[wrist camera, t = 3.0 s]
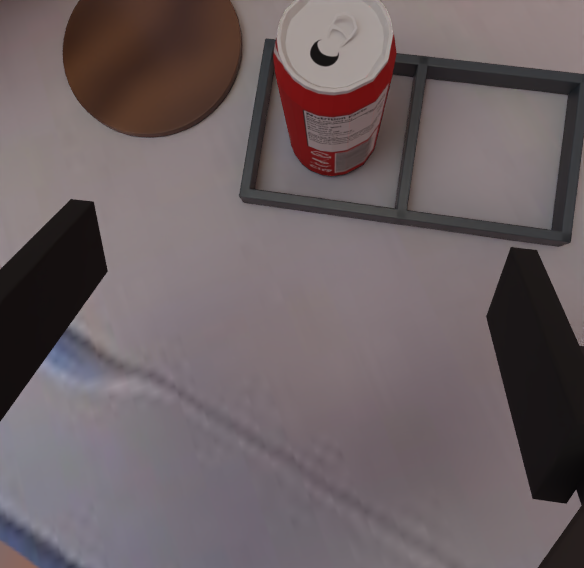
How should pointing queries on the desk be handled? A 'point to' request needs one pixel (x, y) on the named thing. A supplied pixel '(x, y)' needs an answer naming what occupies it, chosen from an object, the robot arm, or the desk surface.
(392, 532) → the desk surface
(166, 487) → the desk surface
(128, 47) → the coaster
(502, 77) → the rack
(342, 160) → the soda can
